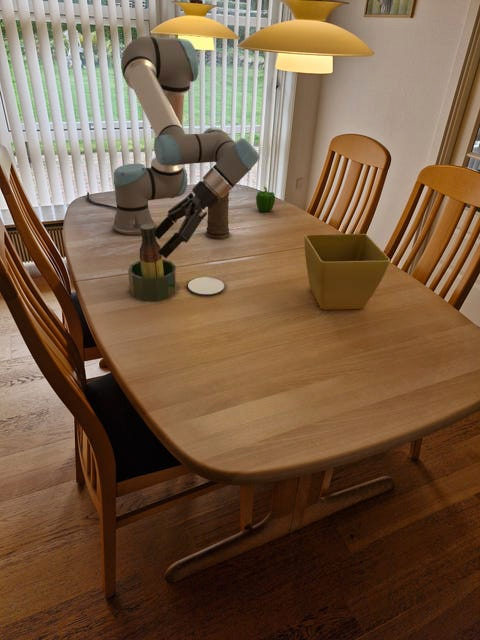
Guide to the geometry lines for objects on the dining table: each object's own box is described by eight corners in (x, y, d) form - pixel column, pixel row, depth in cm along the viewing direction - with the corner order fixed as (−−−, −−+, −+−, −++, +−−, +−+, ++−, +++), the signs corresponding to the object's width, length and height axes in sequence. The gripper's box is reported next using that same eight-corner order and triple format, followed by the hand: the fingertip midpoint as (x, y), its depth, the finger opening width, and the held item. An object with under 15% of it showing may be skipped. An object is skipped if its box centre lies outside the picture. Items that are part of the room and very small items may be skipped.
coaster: (180, 289, 131) (180, 287, 131) (200, 275, 139) (200, 273, 139) (211, 299, 127) (211, 297, 127) (230, 284, 135) (230, 283, 135)
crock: (121, 292, 128) (118, 271, 124) (150, 275, 138) (148, 255, 134) (157, 305, 123) (156, 283, 119) (185, 286, 133) (184, 265, 129)
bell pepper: (273, 214, 192) (275, 191, 187) (254, 212, 193) (255, 189, 188) (274, 208, 199) (276, 186, 194) (256, 206, 200) (258, 184, 195)
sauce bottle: (160, 283, 134) (156, 220, 123) (168, 292, 129) (164, 227, 119) (139, 287, 131) (134, 223, 120) (146, 296, 127) (141, 231, 116)
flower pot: (312, 317, 121) (321, 261, 112) (297, 284, 137) (303, 233, 128) (378, 315, 124) (392, 260, 115) (355, 283, 140) (366, 233, 131)
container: (229, 239, 165) (230, 192, 156) (205, 238, 165) (205, 190, 155) (229, 231, 173) (231, 185, 163) (207, 230, 173) (207, 183, 163)
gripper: (232, 213, 111) (175, 272, 115) (210, 186, 131) (162, 236, 135) (212, 193, 107) (154, 255, 111) (192, 168, 127) (143, 221, 131)
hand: (158, 245), depth 123 cm, fingers open, 13 cm apart
